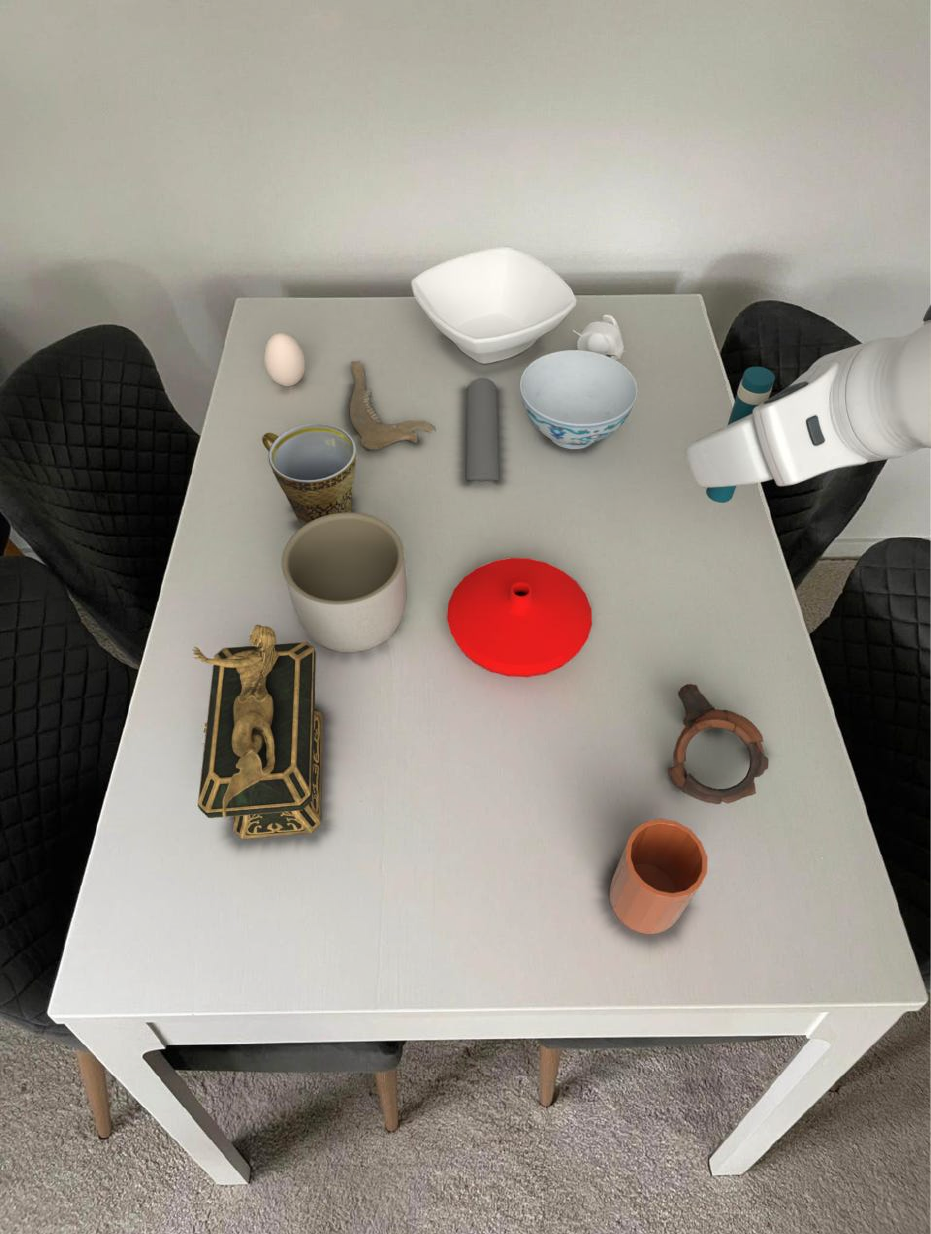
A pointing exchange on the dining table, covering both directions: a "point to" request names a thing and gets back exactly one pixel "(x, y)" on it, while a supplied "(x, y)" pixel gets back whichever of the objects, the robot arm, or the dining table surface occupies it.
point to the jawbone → (369, 422)
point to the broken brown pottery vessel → (706, 717)
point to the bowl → (493, 301)
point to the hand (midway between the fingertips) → (733, 434)
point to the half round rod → (482, 431)
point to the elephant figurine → (602, 338)
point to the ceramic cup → (314, 469)
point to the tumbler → (657, 875)
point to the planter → (346, 580)
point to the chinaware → (577, 396)
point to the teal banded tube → (745, 413)
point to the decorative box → (263, 738)
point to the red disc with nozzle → (519, 617)
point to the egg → (284, 359)
